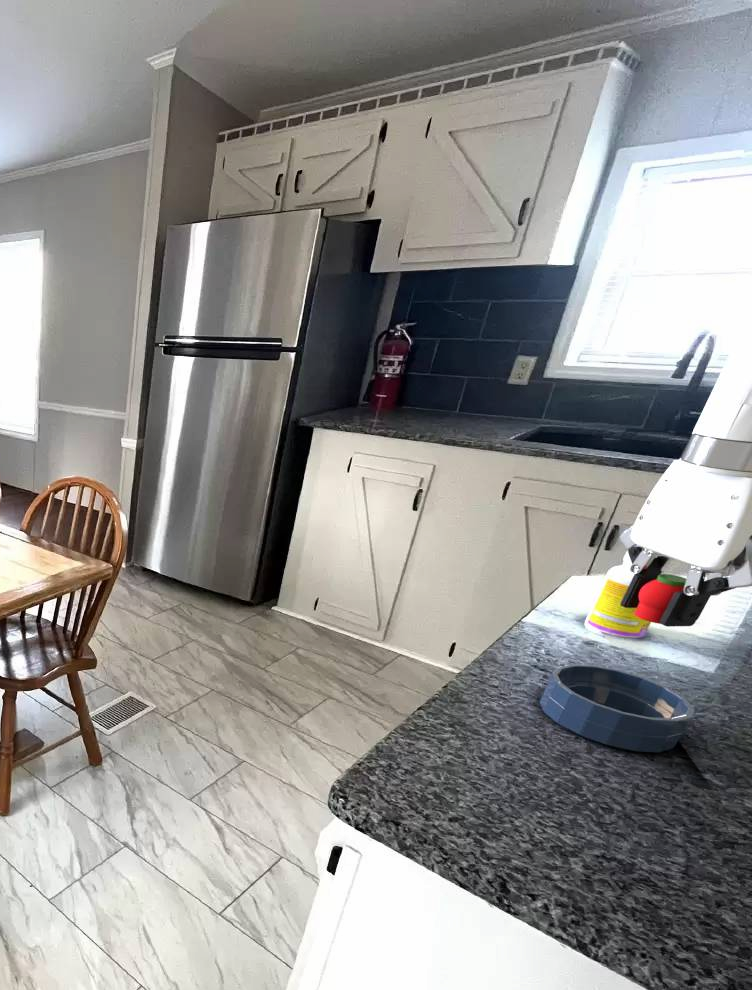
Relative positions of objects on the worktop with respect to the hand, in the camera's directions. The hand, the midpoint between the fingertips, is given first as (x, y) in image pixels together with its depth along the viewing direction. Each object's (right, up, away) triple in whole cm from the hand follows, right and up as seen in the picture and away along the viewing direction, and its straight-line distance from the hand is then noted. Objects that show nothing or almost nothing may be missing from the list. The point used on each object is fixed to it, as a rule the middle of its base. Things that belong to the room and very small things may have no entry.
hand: (655, 614), depth 72 cm
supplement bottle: (+22, -4, +26) cm, 34 cm away
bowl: (0, -14, +6) cm, 15 cm away
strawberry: (0, 0, 0) cm, 0 cm away
